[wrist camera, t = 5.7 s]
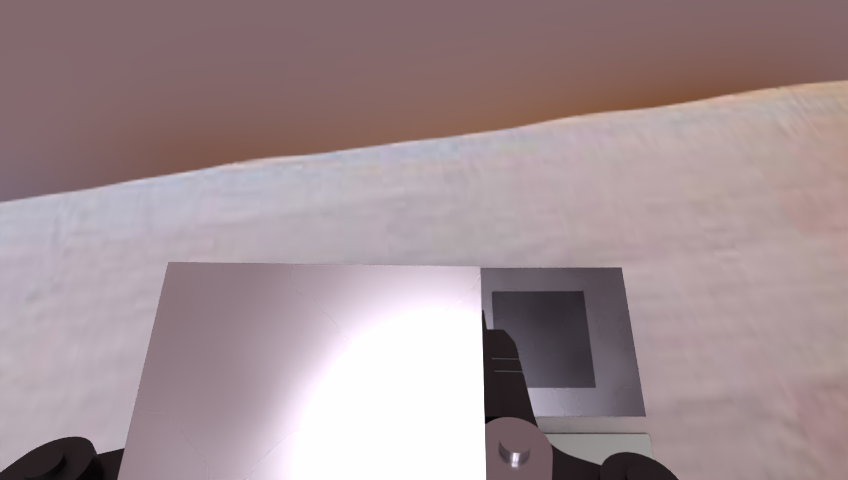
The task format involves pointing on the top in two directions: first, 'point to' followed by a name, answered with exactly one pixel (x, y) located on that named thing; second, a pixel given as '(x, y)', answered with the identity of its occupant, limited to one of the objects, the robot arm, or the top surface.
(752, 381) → the top surface
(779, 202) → the top surface
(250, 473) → the steel plug
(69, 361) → the top surface
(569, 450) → the mat
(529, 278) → the dark grey slotted tray
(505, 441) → the robot arm
